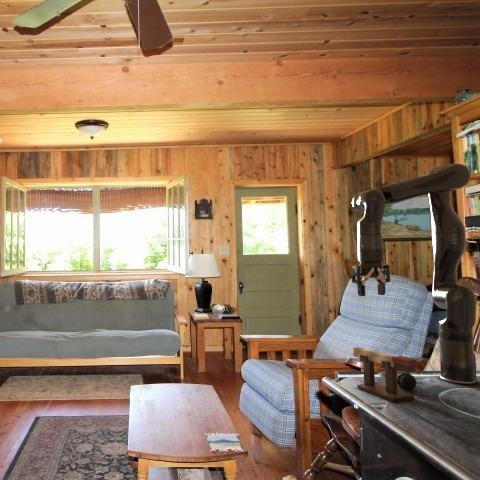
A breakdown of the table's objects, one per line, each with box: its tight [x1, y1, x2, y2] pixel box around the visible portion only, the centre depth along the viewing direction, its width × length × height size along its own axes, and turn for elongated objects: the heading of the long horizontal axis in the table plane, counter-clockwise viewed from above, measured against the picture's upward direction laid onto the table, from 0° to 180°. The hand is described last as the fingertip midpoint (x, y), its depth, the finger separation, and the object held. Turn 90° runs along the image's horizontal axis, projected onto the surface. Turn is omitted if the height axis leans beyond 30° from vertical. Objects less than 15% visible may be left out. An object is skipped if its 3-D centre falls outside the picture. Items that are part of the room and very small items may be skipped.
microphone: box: [380, 371, 418, 392], centre depth 139 cm, size 6×6×20 cm
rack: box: [356, 355, 415, 403], centre depth 130 cm, size 13×8×11 cm, turn 16°
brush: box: [352, 346, 418, 373], centre depth 130 cm, size 20×4×3 cm, turn 16°
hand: (371, 295), depth 139 cm, fingers open, 8 cm apart
